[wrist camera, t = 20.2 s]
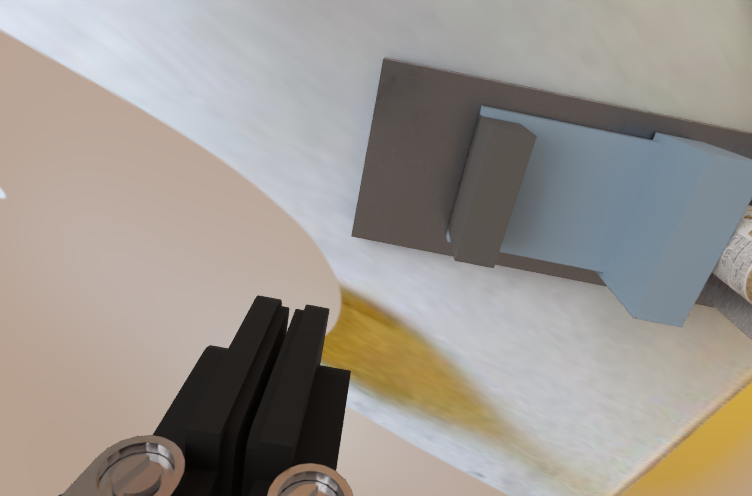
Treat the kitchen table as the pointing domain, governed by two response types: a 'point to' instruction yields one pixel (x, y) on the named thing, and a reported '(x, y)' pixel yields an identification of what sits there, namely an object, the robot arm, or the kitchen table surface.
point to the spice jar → (738, 258)
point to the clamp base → (451, 148)
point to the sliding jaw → (601, 206)
